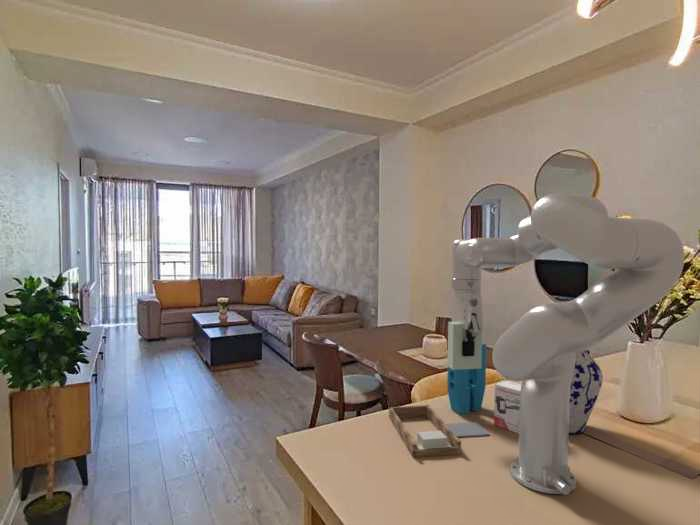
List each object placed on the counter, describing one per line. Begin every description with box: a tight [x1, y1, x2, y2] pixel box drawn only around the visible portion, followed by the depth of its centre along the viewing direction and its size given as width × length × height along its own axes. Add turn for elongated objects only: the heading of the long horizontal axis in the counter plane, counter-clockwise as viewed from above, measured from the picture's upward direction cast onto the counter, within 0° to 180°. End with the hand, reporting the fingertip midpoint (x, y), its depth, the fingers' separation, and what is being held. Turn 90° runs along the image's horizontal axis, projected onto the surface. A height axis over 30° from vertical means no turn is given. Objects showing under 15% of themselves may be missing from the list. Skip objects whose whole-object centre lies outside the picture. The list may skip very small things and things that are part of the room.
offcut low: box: [412, 438, 451, 449], centre depth 100 cm, size 5×8×2 cm, turn 99°
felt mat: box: [445, 421, 491, 439], centre depth 110 cm, size 8×11×1 cm
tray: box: [388, 404, 462, 458], centre depth 108 cm, size 23×12×3 cm, turn 9°
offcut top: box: [416, 430, 447, 448], centre depth 100 cm, size 4×6×2 cm, turn 100°
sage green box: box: [447, 321, 483, 370], centre depth 110 cm, size 4×8×12 cm, turn 99°
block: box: [446, 341, 487, 415], centre depth 125 cm, size 12×5×20 cm, turn 119°
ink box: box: [493, 380, 522, 434], centre depth 112 cm, size 8×5×12 cm, turn 43°
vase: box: [569, 350, 604, 436], centre depth 113 cm, size 19×19×30 cm
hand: (464, 353), depth 110 cm, fingers closed on sage green box, 3 cm apart
